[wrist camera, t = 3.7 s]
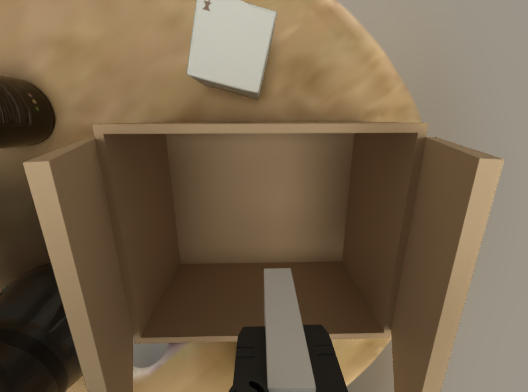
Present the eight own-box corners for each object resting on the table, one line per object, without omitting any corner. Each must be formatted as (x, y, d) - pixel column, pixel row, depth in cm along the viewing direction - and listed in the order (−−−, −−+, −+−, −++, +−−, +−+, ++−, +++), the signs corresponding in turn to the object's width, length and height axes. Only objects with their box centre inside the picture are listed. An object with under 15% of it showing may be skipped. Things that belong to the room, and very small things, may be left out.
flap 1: (133, 335, 21) (125, 337, 21) (94, 138, 16) (83, 138, 16) (132, 491, 12) (118, 499, 12) (48, 161, 8) (22, 162, 7)
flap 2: (399, 482, 13) (413, 489, 12) (479, 158, 8) (504, 159, 8) (391, 330, 22) (399, 332, 21) (425, 137, 17) (436, 137, 17)
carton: (177, 265, 33) (134, 343, 21) (160, 122, 28) (92, 124, 16) (344, 263, 33) (389, 338, 22) (359, 121, 28) (428, 123, 17)
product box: (203, 86, 27) (183, 74, 20) (213, 21, 25) (196, -16, 18) (258, 101, 27) (259, 94, 20) (272, 39, 26) (278, 9, 19)
